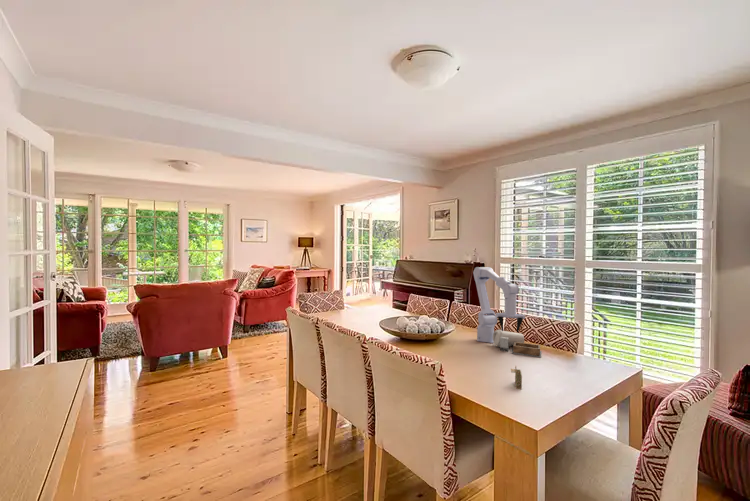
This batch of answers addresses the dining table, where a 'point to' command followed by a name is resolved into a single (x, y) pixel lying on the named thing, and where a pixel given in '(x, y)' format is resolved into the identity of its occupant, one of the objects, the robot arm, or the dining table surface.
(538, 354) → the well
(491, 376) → the dining table surface
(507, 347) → the brushed aluminum block
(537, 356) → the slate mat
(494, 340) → the coffee cup
